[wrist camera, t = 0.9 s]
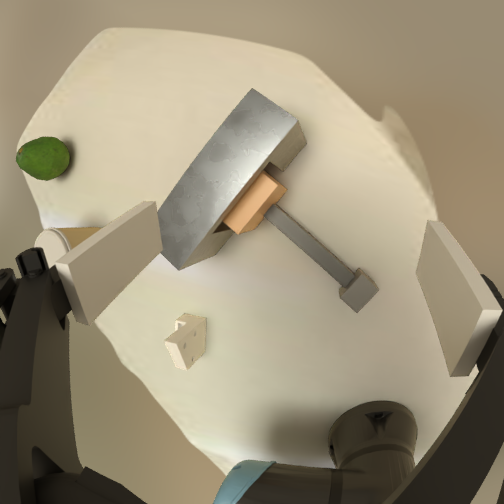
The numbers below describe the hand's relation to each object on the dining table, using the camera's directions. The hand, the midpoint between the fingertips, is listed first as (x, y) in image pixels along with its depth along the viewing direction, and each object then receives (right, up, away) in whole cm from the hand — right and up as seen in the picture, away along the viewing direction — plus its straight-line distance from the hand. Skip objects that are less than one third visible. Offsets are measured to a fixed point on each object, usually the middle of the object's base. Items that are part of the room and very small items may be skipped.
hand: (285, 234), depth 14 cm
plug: (+6, +1, +27) cm, 27 cm away
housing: (-3, +8, +28) cm, 29 cm away
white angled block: (-10, -13, +33) cm, 37 cm away
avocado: (-37, +17, +35) cm, 54 cm away
